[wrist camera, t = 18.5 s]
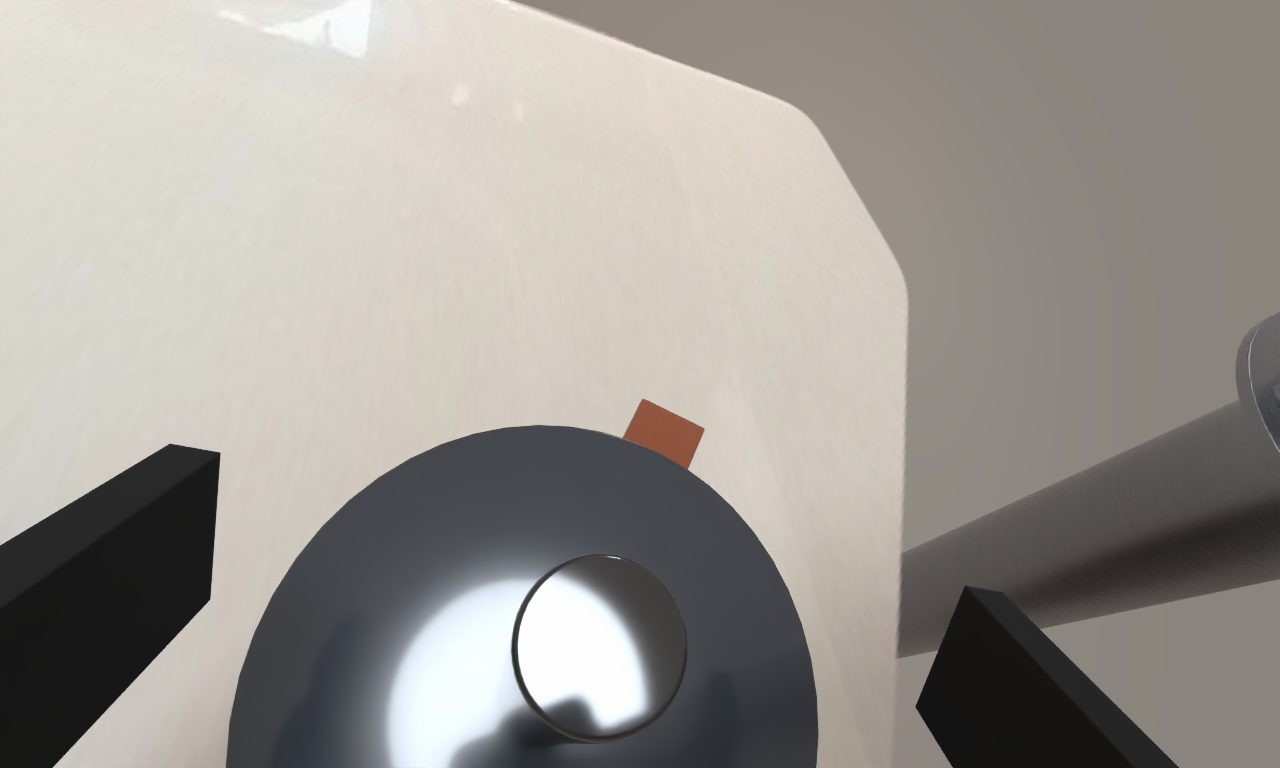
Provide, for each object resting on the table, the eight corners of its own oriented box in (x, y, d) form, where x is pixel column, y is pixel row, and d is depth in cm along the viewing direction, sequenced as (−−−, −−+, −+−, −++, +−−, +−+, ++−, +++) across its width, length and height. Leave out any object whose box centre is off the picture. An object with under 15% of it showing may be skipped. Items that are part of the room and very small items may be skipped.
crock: (752, 566, 31) (863, 494, 22) (572, 1101, 22) (640, 1357, 12) (492, 438, 32) (498, 314, 22) (201, 907, 22) (5, 1021, 13)
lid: (852, 565, 22) (1088, 452, 13) (694, 1191, 14) (1006, 1837, 6) (449, 366, 22) (431, 132, 14) (87, 874, 14) (-447, 1050, 6)
